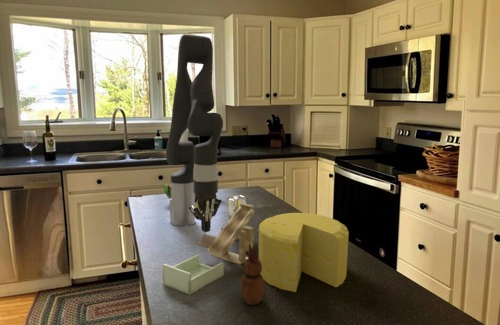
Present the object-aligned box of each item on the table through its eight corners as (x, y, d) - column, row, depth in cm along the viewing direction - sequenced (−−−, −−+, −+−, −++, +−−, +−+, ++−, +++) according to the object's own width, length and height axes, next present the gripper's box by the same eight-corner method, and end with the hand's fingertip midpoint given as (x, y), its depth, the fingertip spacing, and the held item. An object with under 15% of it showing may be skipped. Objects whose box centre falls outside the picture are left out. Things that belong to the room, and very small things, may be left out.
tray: (163, 284, 111) (162, 264, 110) (198, 266, 122) (197, 248, 121) (189, 295, 105) (189, 274, 104) (223, 275, 117) (223, 256, 116)
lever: (229, 206, 138) (225, 199, 136) (255, 212, 132) (253, 205, 130) (195, 250, 126) (191, 242, 124) (223, 258, 120) (219, 251, 118)
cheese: (326, 303, 102) (329, 247, 100) (241, 277, 116) (241, 228, 113) (357, 266, 124) (360, 219, 122) (282, 248, 138) (283, 206, 135)
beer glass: (243, 241, 144) (243, 200, 141) (224, 239, 145) (224, 199, 142) (247, 234, 150) (247, 195, 148) (229, 232, 152) (229, 194, 149)
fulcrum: (238, 246, 138) (238, 219, 137) (260, 253, 133) (261, 224, 131) (217, 257, 129) (217, 228, 127) (240, 264, 124) (240, 234, 122)
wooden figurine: (240, 294, 106) (240, 241, 103) (261, 294, 106) (262, 240, 104) (241, 308, 99) (242, 251, 97) (265, 307, 100) (266, 250, 97)
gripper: (210, 172, 130) (210, 223, 134) (181, 179, 120) (182, 234, 123) (228, 175, 126) (228, 228, 129) (200, 183, 116) (200, 240, 119)
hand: (205, 231), depth 126 cm, fingers closed
